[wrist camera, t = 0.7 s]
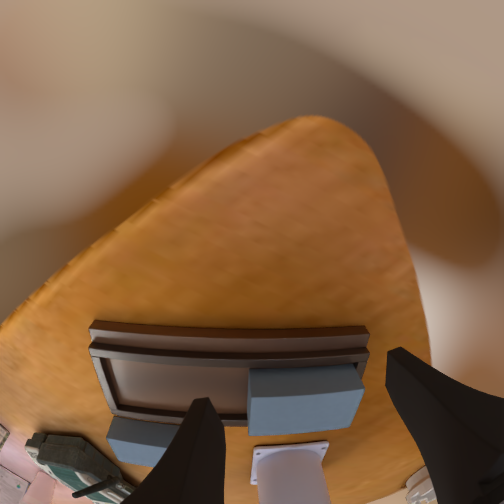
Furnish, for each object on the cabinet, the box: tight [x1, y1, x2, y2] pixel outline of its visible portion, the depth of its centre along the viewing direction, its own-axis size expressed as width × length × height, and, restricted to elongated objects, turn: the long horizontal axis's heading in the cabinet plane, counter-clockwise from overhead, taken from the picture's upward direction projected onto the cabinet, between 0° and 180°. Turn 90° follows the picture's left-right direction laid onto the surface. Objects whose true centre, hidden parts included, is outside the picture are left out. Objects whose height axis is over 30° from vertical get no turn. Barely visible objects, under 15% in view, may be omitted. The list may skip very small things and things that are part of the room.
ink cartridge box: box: [0, 465, 31, 504], centre depth 26 cm, size 10×6×14 cm, turn 71°
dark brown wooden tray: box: [89, 320, 370, 427], centre depth 21 cm, size 10×21×2 cm, turn 87°
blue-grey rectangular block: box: [247, 363, 365, 436], centre depth 20 cm, size 5×8×3 cm, turn 87°
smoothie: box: [19, 471, 56, 504], centre depth 24 cm, size 6×6×14 cm
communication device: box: [25, 433, 136, 504], centre depth 24 cm, size 12×24×9 cm, turn 15°
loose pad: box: [106, 416, 180, 467], centre depth 23 cm, size 5×8×3 cm, turn 87°
